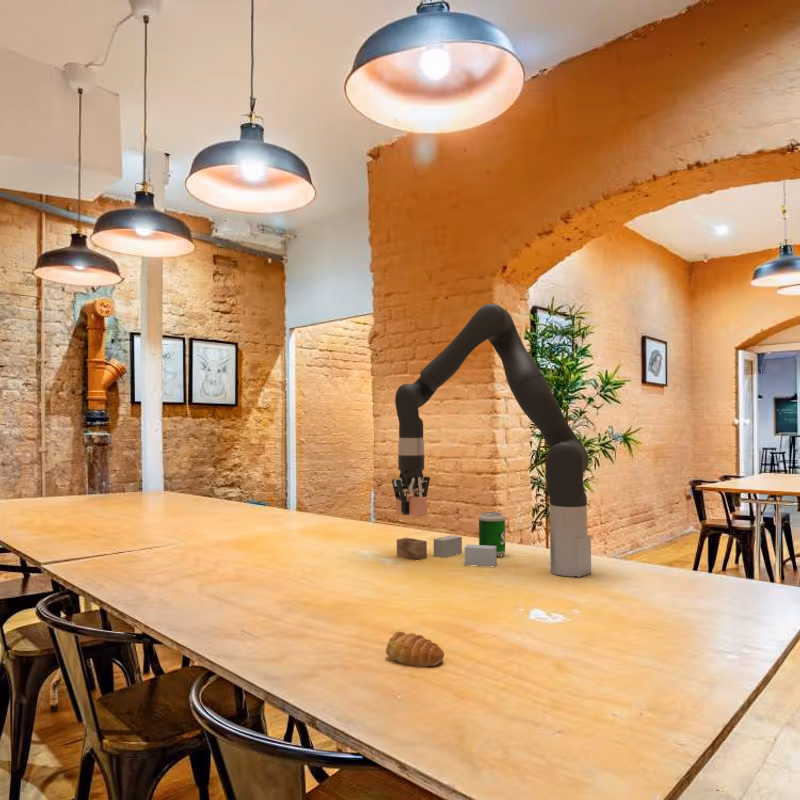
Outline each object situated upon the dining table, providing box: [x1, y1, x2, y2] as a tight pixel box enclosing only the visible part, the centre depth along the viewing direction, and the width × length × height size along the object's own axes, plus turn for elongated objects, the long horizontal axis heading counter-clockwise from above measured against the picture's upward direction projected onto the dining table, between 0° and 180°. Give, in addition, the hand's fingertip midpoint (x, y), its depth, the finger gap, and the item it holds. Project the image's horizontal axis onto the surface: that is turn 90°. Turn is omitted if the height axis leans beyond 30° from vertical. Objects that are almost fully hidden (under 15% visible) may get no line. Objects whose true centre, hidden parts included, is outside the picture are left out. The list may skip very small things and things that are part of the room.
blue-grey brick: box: [464, 544, 498, 567], centre depth 170 cm, size 8×4×5 cm, turn 73°
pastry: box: [385, 631, 445, 667], centre depth 103 cm, size 9×7×4 cm
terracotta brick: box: [395, 494, 428, 517], centre depth 181 cm, size 8×4×5 cm, turn 49°
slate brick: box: [433, 534, 463, 558], centre depth 184 cm, size 8×4×5 cm, turn 136°
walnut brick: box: [396, 537, 428, 561], centre depth 180 cm, size 8×4×5 cm, turn 46°
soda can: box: [478, 511, 506, 557], centre depth 183 cm, size 8×8×12 cm
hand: (411, 513), depth 181 cm, fingers closed on terracotta brick, 4 cm apart
